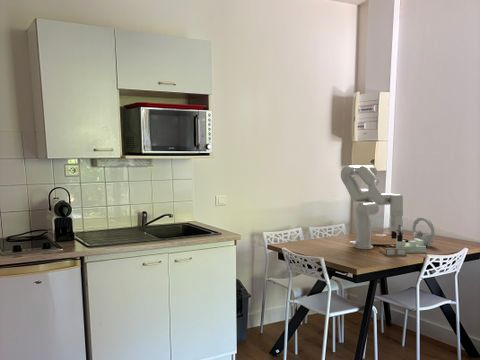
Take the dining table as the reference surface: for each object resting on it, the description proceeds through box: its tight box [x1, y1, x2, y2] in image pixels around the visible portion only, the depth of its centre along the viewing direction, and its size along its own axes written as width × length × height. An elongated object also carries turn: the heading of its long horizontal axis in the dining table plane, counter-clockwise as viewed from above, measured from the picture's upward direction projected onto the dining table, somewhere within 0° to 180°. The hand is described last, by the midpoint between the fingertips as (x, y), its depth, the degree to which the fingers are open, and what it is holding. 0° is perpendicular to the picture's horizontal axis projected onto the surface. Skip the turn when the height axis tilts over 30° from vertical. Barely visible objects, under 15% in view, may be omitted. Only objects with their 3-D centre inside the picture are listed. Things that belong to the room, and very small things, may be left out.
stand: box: [395, 238, 427, 254], centre depth 261 cm, size 12×15×7 cm
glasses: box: [378, 247, 407, 257], centre depth 254 cm, size 13×13×4 cm
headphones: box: [411, 216, 435, 248], centre depth 275 cm, size 19×8×20 cm, turn 17°
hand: (396, 239), depth 247 cm, fingers open, 9 cm apart
